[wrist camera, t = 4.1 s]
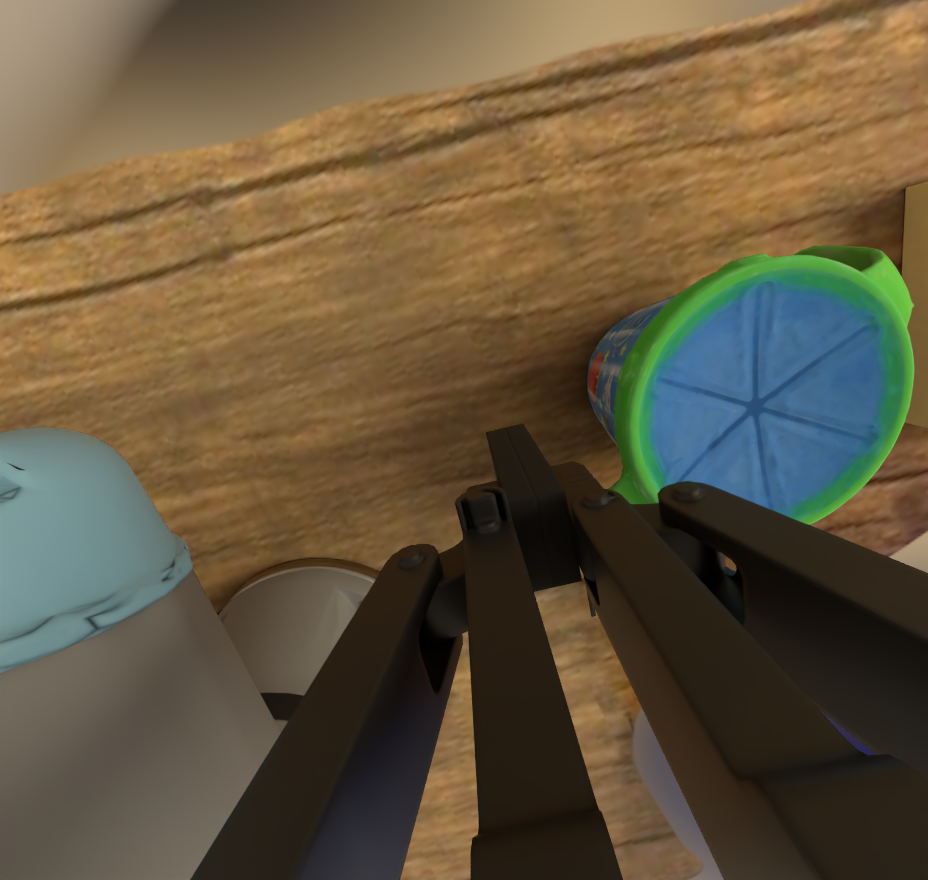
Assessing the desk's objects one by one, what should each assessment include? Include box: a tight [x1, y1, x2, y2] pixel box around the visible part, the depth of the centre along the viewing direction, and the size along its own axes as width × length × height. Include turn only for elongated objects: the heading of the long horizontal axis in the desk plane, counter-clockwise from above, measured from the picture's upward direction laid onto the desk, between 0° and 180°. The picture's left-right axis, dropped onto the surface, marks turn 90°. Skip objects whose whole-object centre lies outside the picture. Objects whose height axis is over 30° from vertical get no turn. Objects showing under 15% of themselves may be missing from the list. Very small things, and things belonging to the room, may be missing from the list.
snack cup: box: [587, 245, 914, 525], centre depth 20 cm, size 16×10×10 cm
